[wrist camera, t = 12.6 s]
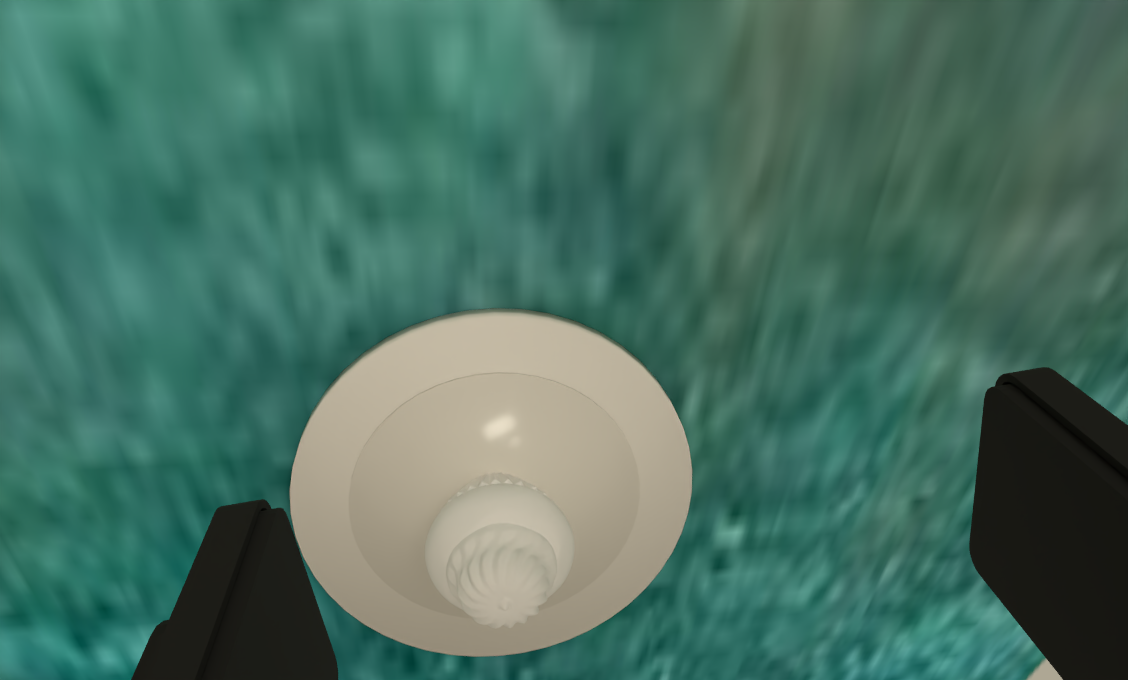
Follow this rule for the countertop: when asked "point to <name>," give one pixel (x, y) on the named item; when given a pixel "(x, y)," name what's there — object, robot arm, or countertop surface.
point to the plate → (489, 470)
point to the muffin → (499, 549)
